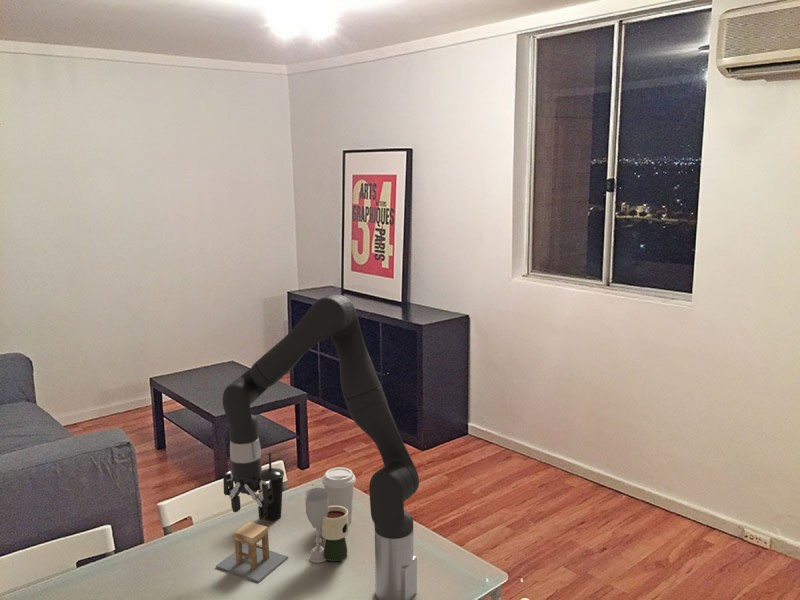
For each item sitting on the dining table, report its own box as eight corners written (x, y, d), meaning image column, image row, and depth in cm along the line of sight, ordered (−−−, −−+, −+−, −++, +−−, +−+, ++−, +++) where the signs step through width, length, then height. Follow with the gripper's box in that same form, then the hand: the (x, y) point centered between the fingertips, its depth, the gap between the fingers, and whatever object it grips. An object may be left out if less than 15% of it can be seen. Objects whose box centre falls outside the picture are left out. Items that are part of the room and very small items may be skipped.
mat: (288, 558, 182) (288, 556, 182) (258, 582, 171) (258, 580, 171) (246, 544, 188) (246, 542, 188) (216, 567, 178) (215, 565, 178)
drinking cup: (256, 513, 204) (253, 450, 200) (281, 508, 207) (279, 446, 203) (263, 525, 197) (259, 461, 193) (289, 520, 201) (286, 456, 196)
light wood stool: (269, 558, 181) (267, 527, 179) (254, 570, 176) (252, 538, 174) (251, 552, 184) (249, 521, 182) (236, 563, 178) (234, 532, 176)
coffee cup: (318, 527, 197) (316, 478, 193) (331, 510, 206) (329, 464, 202) (349, 532, 194) (348, 483, 191) (361, 515, 203) (360, 468, 200)
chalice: (327, 566, 178) (325, 502, 174) (302, 563, 179) (299, 500, 175) (335, 550, 185) (333, 488, 181) (310, 548, 186) (308, 486, 182)
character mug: (347, 569, 177) (346, 523, 174) (319, 569, 177) (318, 523, 174) (350, 545, 187) (349, 501, 185) (324, 545, 187) (323, 501, 185)
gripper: (277, 455, 173) (280, 514, 176) (233, 445, 180) (237, 502, 183) (258, 466, 167) (262, 527, 170) (213, 456, 173) (218, 515, 177)
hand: (249, 514), depth 177 cm, fingers open, 8 cm apart
